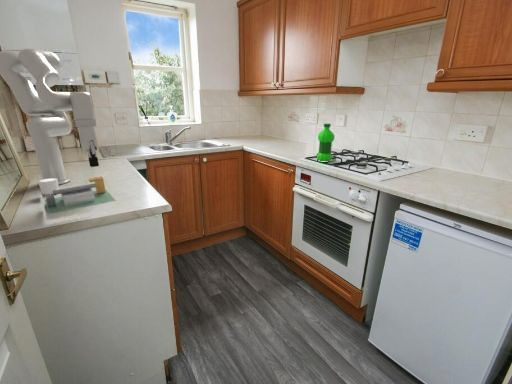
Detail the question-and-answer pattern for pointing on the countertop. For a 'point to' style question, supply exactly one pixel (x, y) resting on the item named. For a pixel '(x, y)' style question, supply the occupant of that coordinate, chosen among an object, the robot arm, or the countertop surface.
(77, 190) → the strap
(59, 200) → the circuit board
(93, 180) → the block
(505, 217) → the countertop surface
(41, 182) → the white grey cylinder
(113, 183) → the countertop surface
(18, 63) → the robot arm
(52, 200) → the heat sink
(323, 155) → the plastic bottle
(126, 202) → the countertop surface
